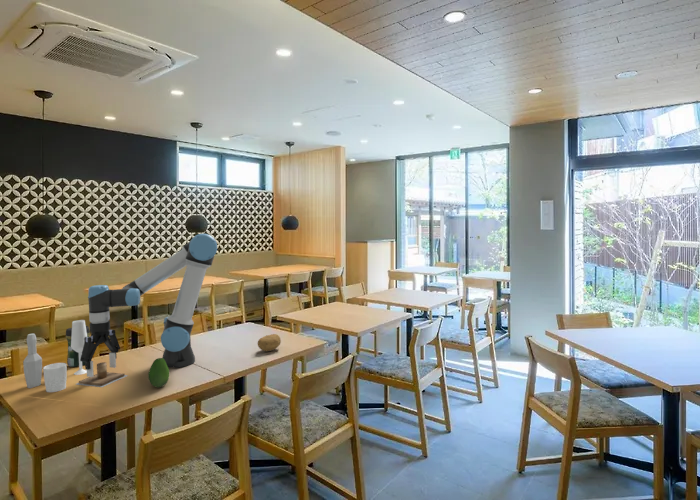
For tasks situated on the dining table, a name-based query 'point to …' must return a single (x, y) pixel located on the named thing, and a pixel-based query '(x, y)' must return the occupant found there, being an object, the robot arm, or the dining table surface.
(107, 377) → the lid
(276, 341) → the potato
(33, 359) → the faceted bottle
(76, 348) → the champagne flute
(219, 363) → the dining table surface
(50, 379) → the white cup
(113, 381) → the mat
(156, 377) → the avocado
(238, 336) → the dining table surface
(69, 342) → the wine bottles
